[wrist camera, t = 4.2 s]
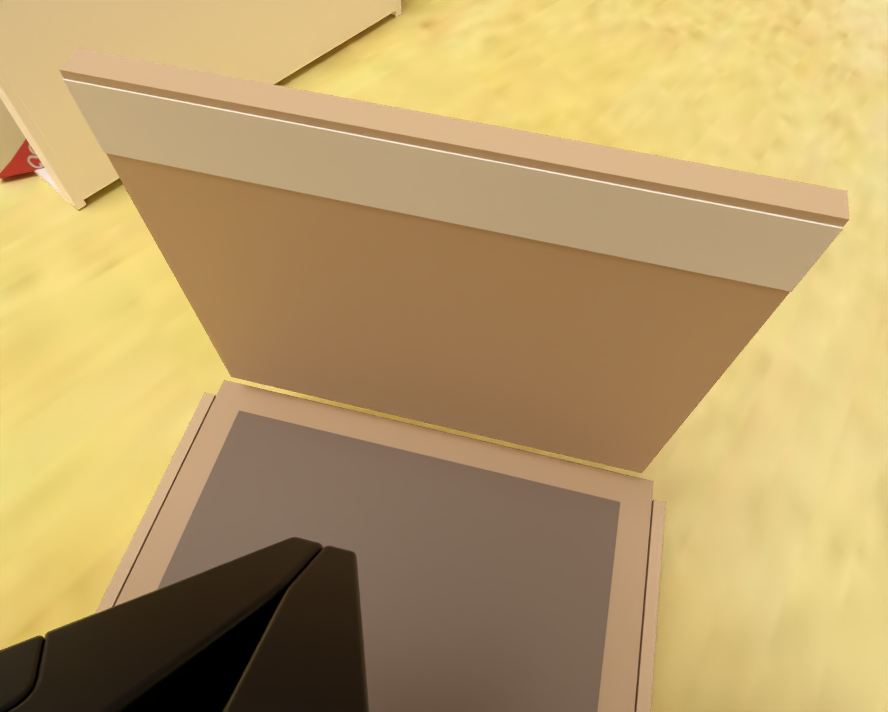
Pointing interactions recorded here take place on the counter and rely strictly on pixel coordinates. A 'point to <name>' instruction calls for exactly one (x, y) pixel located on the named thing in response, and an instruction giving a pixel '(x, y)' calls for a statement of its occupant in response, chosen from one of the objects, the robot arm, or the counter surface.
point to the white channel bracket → (150, 39)
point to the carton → (425, 550)
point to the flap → (452, 255)
